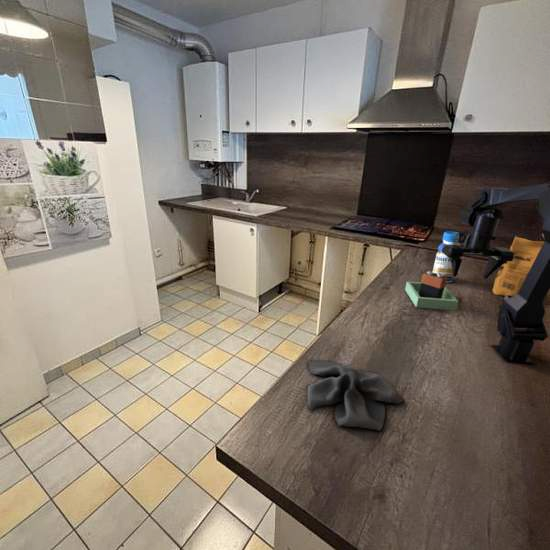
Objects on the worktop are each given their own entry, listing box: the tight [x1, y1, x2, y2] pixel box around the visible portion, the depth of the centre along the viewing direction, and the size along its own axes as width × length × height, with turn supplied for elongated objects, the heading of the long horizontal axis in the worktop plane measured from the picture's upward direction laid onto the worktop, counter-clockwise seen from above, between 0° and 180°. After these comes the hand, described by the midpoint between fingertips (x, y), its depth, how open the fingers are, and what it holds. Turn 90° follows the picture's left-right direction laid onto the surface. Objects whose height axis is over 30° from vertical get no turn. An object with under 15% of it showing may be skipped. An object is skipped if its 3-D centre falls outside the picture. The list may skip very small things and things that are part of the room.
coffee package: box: [491, 236, 544, 297], centre depth 107 cm, size 10×12×22 cm
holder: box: [404, 281, 460, 311], centre depth 105 cm, size 14×13×4 cm
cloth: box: [307, 360, 403, 432], centre depth 63 cm, size 22×19×6 cm
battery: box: [418, 270, 447, 299], centre depth 104 cm, size 4×7×10 cm, turn 42°
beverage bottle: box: [432, 231, 461, 284], centre depth 120 cm, size 8×8×20 cm
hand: (469, 277), depth 95 cm, fingers open, 9 cm apart
